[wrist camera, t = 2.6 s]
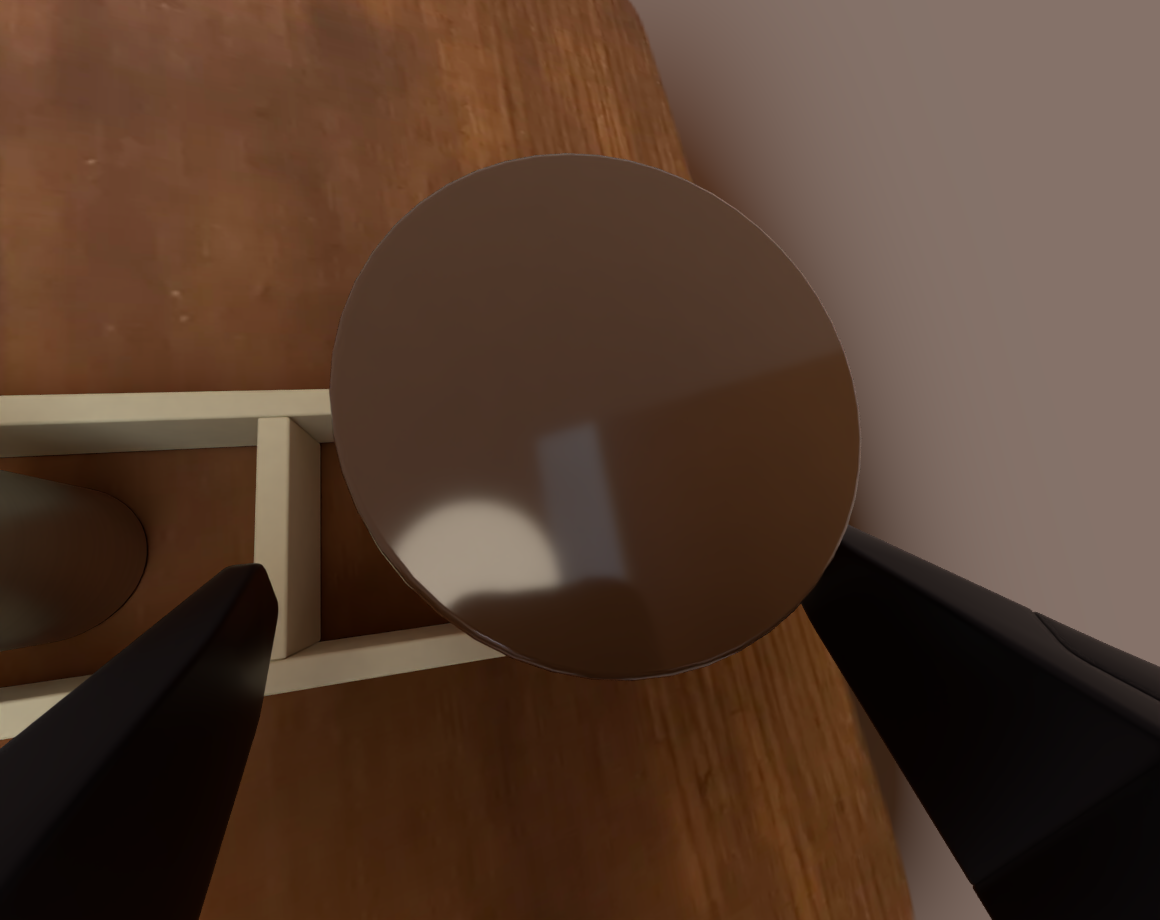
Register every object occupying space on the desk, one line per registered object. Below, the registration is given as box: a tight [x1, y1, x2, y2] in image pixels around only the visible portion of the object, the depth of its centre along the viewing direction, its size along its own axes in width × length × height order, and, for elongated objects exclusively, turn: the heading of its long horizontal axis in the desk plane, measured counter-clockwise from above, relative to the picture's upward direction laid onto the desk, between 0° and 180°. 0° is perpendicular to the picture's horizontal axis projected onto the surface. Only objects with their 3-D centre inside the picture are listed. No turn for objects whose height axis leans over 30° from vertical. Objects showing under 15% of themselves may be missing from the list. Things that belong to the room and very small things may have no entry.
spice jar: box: [329, 153, 861, 681], centre depth 11 cm, size 5×5×13 cm
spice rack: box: [0, 389, 506, 740], centre depth 14 cm, size 26×8×3 cm, turn 97°
